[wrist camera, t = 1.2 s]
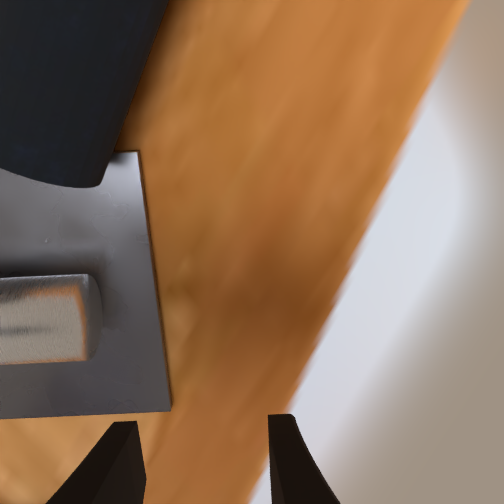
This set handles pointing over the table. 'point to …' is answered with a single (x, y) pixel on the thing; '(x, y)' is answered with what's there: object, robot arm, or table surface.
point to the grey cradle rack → (109, 283)
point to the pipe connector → (69, 83)
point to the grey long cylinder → (49, 319)
